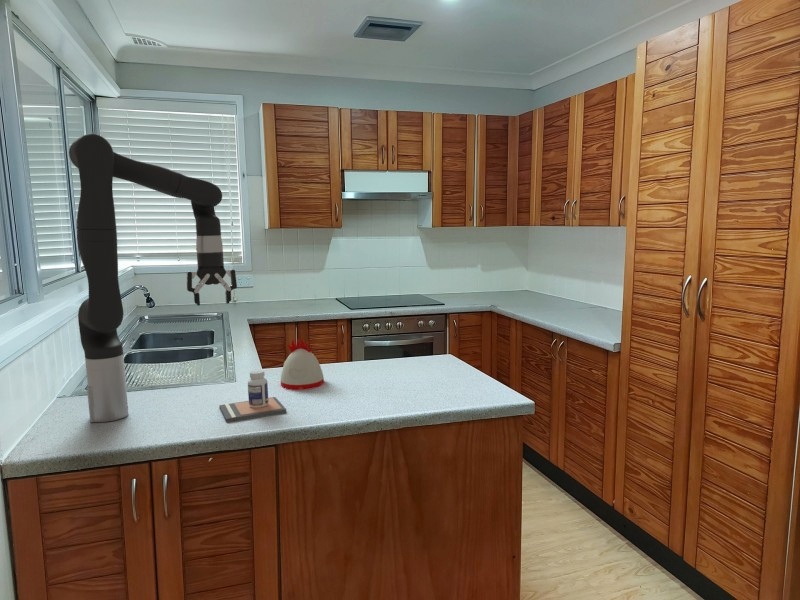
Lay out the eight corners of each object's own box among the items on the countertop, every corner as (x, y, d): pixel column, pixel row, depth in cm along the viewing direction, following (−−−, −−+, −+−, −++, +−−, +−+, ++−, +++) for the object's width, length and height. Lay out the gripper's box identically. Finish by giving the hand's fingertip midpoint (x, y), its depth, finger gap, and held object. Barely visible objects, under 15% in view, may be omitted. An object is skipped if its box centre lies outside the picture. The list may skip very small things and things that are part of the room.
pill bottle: (260, 401, 161) (258, 368, 160) (272, 404, 157) (270, 371, 156) (245, 406, 157) (243, 372, 155) (256, 409, 153) (254, 375, 152)
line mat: (226, 422, 147) (226, 418, 147) (219, 408, 159) (219, 404, 158) (286, 412, 154) (286, 408, 154) (275, 400, 165) (275, 396, 165)
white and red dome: (286, 378, 190) (284, 335, 188) (326, 378, 189) (325, 334, 187) (276, 390, 176) (273, 343, 174) (319, 389, 176) (317, 343, 174)
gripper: (185, 252, 161) (189, 307, 163) (236, 250, 167) (239, 303, 169) (183, 251, 168) (187, 304, 170) (232, 249, 174) (235, 301, 176)
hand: (213, 304), depth 170 cm, fingers open, 8 cm apart
